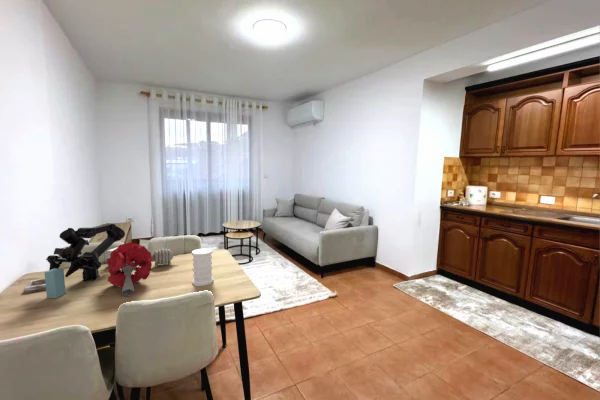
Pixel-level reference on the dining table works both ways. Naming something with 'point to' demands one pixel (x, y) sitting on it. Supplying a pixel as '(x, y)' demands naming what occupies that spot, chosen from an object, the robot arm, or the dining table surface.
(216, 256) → the dining table surface
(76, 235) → the robot arm
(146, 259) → the red model tree
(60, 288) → the block
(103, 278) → the dining table surface
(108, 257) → the small box
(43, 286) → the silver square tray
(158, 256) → the toy sheep
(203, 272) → the decorative container
